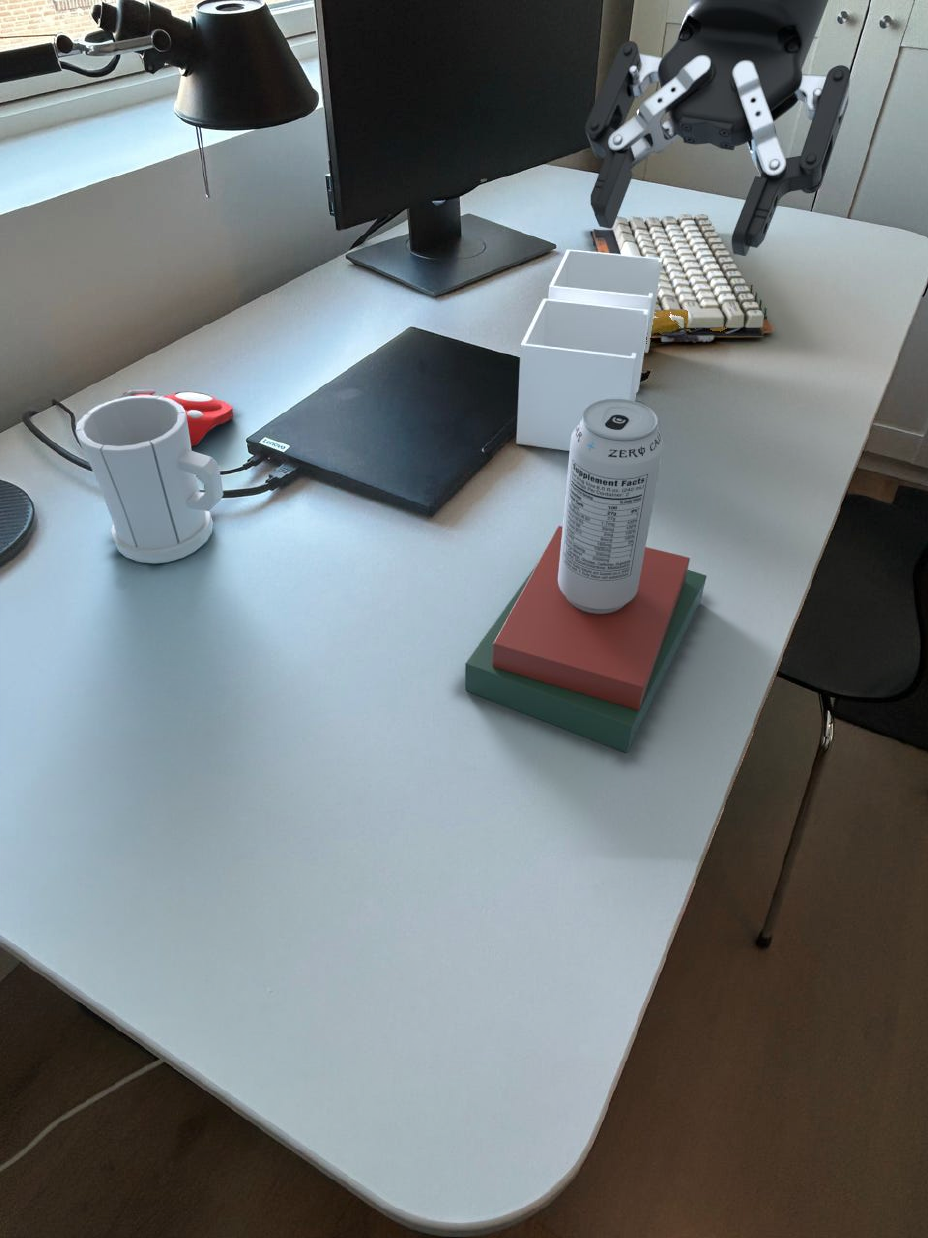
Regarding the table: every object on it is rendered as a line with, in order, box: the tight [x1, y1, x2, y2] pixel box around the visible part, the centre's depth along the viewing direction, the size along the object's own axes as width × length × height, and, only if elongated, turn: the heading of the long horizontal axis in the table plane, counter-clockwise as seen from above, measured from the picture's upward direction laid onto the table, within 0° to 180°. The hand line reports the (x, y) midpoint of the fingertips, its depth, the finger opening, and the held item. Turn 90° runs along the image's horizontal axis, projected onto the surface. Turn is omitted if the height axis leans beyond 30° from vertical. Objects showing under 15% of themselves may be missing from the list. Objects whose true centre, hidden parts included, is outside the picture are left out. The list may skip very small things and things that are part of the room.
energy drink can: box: [558, 399, 664, 614], centre depth 62 cm, size 6×6×15 cm
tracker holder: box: [115, 389, 234, 447], centre depth 93 cm, size 12×4×10 cm
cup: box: [75, 394, 224, 564], centre depth 77 cm, size 10×9×12 cm
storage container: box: [516, 248, 662, 452], centre depth 96 cm, size 25×11×11 cm, turn 165°
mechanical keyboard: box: [589, 213, 774, 344], centre depth 121 cm, size 38×19×3 cm, turn 1°
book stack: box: [464, 525, 708, 754], centre depth 69 cm, size 18×13×6 cm
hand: (668, 234), depth 52 cm, fingers open, 8 cm apart
